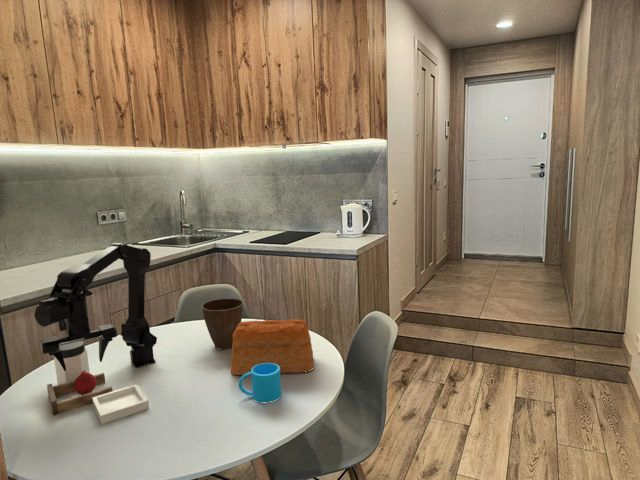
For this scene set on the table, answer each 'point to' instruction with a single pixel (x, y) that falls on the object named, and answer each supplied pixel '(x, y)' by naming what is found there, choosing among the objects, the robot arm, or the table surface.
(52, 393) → the bay
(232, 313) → the plant pot
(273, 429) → the table surface
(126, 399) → the tray
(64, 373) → the jar
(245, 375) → the mug
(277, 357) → the bread
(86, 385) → the onion
